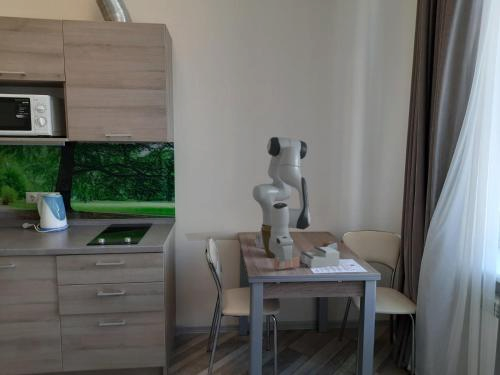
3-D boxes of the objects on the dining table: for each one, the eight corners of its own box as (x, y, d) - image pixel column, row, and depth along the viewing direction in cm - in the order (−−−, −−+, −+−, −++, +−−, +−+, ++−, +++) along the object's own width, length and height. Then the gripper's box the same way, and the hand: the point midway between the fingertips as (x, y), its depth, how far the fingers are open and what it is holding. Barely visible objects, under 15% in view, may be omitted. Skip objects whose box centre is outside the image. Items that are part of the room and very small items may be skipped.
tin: (333, 252, 196) (334, 238, 195) (338, 253, 194) (339, 239, 193) (320, 258, 185) (320, 243, 184) (325, 259, 183) (325, 244, 182)
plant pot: (265, 261, 179) (266, 231, 177) (257, 253, 193) (257, 226, 192) (291, 259, 183) (292, 230, 182) (281, 251, 197) (282, 224, 196)
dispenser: (301, 261, 179) (301, 246, 178) (327, 259, 184) (328, 244, 183) (311, 268, 168) (311, 252, 167) (339, 265, 173) (339, 249, 172)
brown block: (273, 268, 164) (274, 259, 164) (298, 265, 168) (298, 256, 168) (275, 269, 162) (275, 260, 162) (299, 266, 167) (299, 257, 166)
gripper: (265, 232, 171) (265, 259, 173) (282, 242, 152) (281, 272, 153) (277, 231, 173) (276, 258, 175) (294, 241, 154) (294, 270, 155)
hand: (279, 264), depth 164 cm, fingers closed on brown block, 2 cm apart
